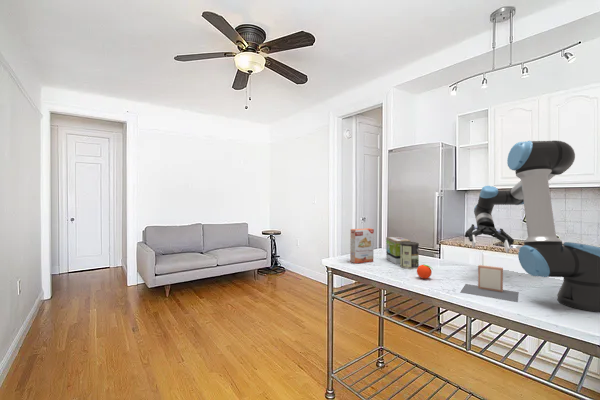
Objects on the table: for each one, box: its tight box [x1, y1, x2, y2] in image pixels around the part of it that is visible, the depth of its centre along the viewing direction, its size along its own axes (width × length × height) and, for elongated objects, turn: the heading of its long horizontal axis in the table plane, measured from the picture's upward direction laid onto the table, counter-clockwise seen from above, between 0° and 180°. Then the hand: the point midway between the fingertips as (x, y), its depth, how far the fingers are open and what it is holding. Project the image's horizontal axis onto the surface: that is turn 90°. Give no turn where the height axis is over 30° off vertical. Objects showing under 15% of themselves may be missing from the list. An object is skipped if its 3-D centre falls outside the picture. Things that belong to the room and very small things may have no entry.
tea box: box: [385, 236, 412, 265], centre depth 189 cm, size 15×10×15 cm, turn 6°
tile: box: [477, 264, 504, 292], centre depth 131 cm, size 9×2×10 cm, turn 53°
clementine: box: [416, 264, 432, 280], centre depth 151 cm, size 8×7×7 cm
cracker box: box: [349, 227, 375, 264], centre depth 189 cm, size 14×6×21 cm, turn 113°
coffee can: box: [399, 241, 420, 270], centre depth 175 cm, size 10×10×14 cm
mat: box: [459, 283, 519, 303], centre depth 128 cm, size 20×15×1 cm
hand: (490, 247), depth 138 cm, fingers open, 13 cm apart
